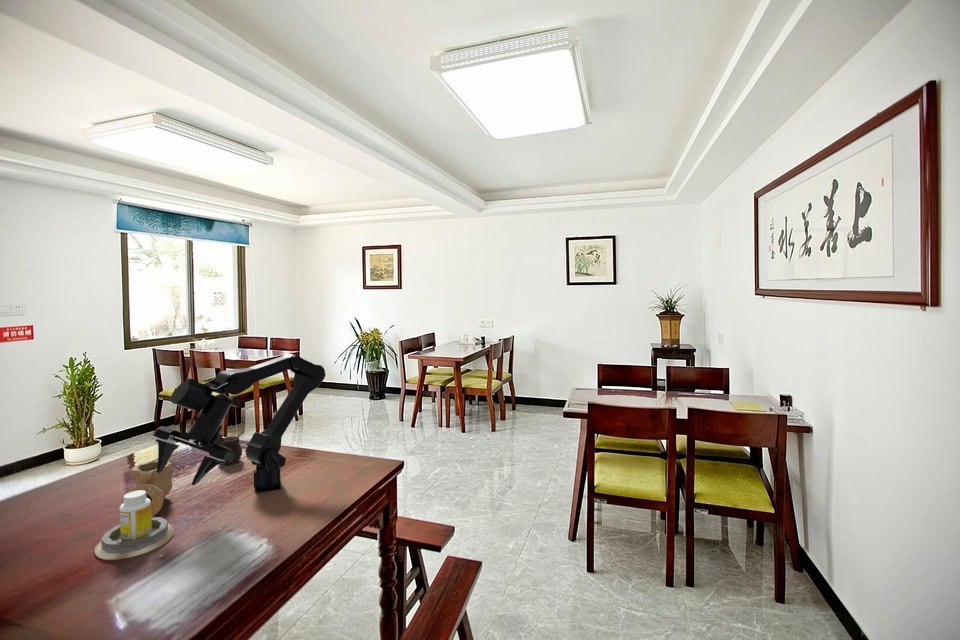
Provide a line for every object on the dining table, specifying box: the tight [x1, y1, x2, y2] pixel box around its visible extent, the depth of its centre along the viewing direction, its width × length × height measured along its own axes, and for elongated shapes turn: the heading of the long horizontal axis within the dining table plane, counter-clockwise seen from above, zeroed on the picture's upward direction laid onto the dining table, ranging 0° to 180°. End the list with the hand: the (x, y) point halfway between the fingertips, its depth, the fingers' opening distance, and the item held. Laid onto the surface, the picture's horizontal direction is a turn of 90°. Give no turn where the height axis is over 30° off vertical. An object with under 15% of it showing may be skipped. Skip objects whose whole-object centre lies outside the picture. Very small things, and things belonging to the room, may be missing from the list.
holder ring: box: [94, 516, 175, 561], centre depth 100 cm, size 14×14×3 cm
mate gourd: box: [221, 430, 244, 466], centre depth 146 cm, size 7×8×10 cm
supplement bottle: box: [118, 490, 152, 541], centre depth 99 cm, size 6×6×10 cm
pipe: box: [121, 460, 173, 517], centre depth 115 cm, size 9×16×10 cm, turn 25°
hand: (175, 478), depth 108 cm, fingers open, 9 cm apart
